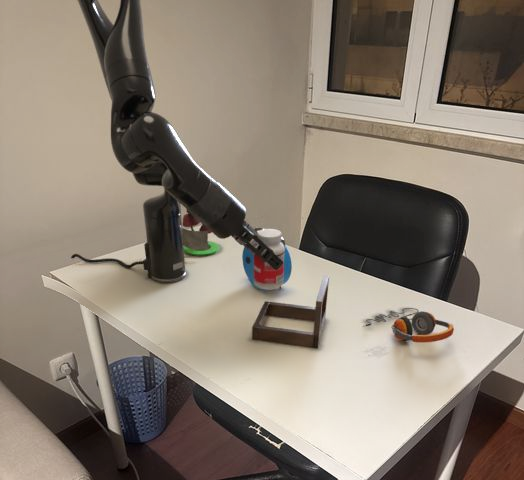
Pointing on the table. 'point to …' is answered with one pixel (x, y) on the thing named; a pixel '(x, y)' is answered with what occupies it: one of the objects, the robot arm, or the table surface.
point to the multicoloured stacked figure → (197, 238)
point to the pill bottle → (262, 270)
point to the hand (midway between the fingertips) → (272, 259)
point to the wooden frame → (293, 312)
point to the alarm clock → (249, 263)
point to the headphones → (417, 327)
